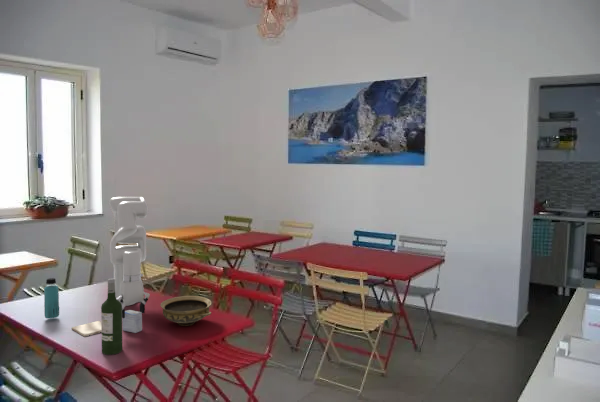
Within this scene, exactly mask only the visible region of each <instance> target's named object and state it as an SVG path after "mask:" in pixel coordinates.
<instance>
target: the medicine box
mask: <svg viewBox="0 0 600 402" xmlns="http://www.w3.org/2000/svg"><path fill="white" fill-rule="evenodd" d="M142 314H143V313H142V312H140V311H137V310H132V309H128V310H125V318H122V331H124V332H130V333H133V334H136V333H139V332H141V331H143V315H142Z"/></svg>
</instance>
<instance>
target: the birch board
mask: <svg viewBox="0 0 600 402" xmlns="http://www.w3.org/2000/svg"><path fill="white" fill-rule="evenodd" d="M71 330H72V331H74V332H75V333H77V334H79V335H81V336H82V337H84V338H85V337H89V335H90V336H93V335H96V334H100V332H101V333H102V329H101V320H97V321H96V320H95V321H93V322H88V323H84V324H80V325H76V326H71Z"/></svg>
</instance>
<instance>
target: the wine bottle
mask: <svg viewBox="0 0 600 402" xmlns="http://www.w3.org/2000/svg"><path fill="white" fill-rule="evenodd" d="M100 309H101V310H100V311H101V312H100V313H101V316H100V318H101V319H100V321H101V329H102V332H101V353H102V354H103V355H107V356H112V355H116V354H120V353H121V352H122V351H123V322H122V304H121V302H120V301H119V300H117V299H116V297H115V279H114V277H111V278H108V279H107V298H106V300H105V301H104V302H103V303H102V304H101V306H100Z"/></svg>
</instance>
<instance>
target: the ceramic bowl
mask: <svg viewBox="0 0 600 402" xmlns="http://www.w3.org/2000/svg"><path fill="white" fill-rule="evenodd" d="M159 305H160V307H161V308H162V315H163V317H164V318H165V319H166V320H168V321H170V322H173V323H177V325H178V326H181V327H182V326H185V327H187V326H192V325H194V324H195V323H196V322H198V321H200V320H202V319H204V318H205V317H206V316H207V317H208V316H211V315H212V312H211V311H210V306H211V305H212V301H211V299H209V298H207V297H204V296H198V295H183V296H175V297H171V298H168V299H165V300H163V301H161V303H160V304H159Z"/></svg>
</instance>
